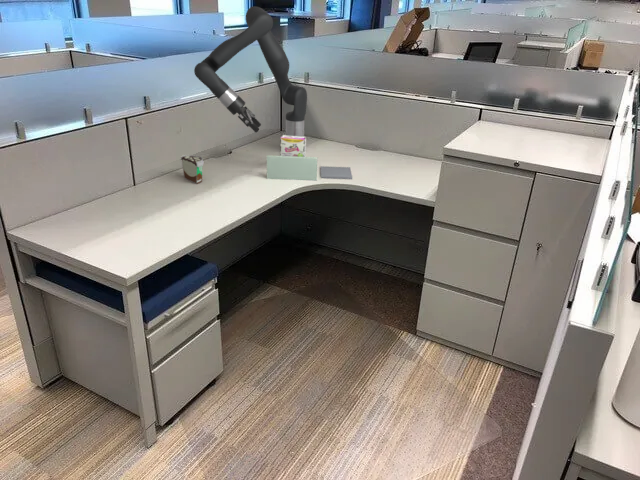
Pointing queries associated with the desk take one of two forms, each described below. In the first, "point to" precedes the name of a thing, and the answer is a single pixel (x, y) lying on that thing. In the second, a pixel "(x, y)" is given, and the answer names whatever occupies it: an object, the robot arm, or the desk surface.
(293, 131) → the robot arm
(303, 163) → the screen
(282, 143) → the candy bar box
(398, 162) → the desk surface
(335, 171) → the mat
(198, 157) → the food container
